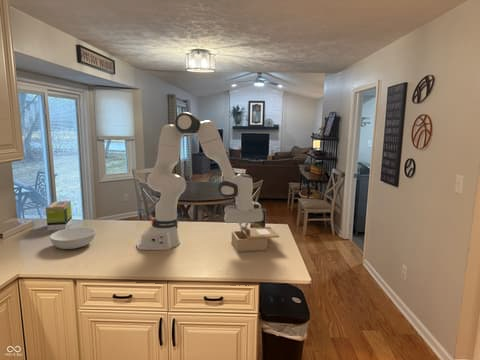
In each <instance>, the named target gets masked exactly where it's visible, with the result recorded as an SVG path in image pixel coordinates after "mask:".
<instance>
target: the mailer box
mask: <svg viewBox="0 0 480 360" xmlns="http://www.w3.org/2000/svg"><path fill="white" fill-rule="evenodd" d="M268 239H269V238H259V239H247V237H246V236H245V235H244V233H243V232H242V231H241V230H231V245H232V246H233V248H234V250H235V252H236V253H237V254H242V253H243V254H244V253H257V252H268Z"/></svg>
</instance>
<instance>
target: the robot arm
mask: <svg viewBox="0 0 480 360" xmlns="http://www.w3.org/2000/svg"><path fill="white" fill-rule="evenodd" d="M194 135H195V136H196V137H197V138H198V141H199V144H200V147H201V149H202V151H203V153H204V155H205V156H206V157H207V158H209V159H211V160H212V161H215V163H216V164H218V166H219V168H220V172H221V173H222V175H223V178H224V180H222V181H221V182H219V184H218V185H217V192H218V194H219V195H220V196H221V197H222V198H224V199H229V198H230V199H231V198H235V204H229V205H226V206H225V207H224V210H223V211H224V219H223V221H224V222H225V223H226V224H235V223H236V224H237V223H238V225H239V227H240V228H239V229H240V230H239V231H241V230H246V227H248V225H250V222H259V221H262V219H263V215H262V210H261V209H260V208H262V205H261V203H259V202H257V201H254V200H253V191H254V183H253V178H252V176H251V175H249V174H247V173H238V174H236V172H235V170H234V167H233V166H232V163H231V161H230V159H229V156H228V154H227V152H226V149H225V146H224V143H223V139H222V137H221V135H220V132H219V129H218V128H217V126H216V124H214V122H213V121H212V120H204V121H200V119H198V117H196V115H194V114H192V113H190V112H187V111H186V112H185V111H184V112H180V113H179V114H178V115H177V116H176V117H175V121H174V124H166V125H164V126H162V128H161V131H160V136H159V140H158V149H157V155H156V156H157V157H156V162H155V164H154V167H153V169H152V171H151V172H150V173H149V174H148V175H147V177H146V183H147V186H148V187H149V188H150V189H151V190H153V191H154V192H159V193H160V197H159V200H158V201H157V202H156V203H155V207H154V208H155V209H154V210H155V217H151V219H150V221H151V225H150V226H149V227H148V228H146V229H144V231H143V232H142V234H141V237H140V239H139V240H138V241H137V242H136V248H137V250H140V251H142V250H144V251H145V250H146V251H150V250H151V251H168V250H170V249H172V248H175V247H178V246H179V245H180V243H181V241H180V238H179V234H178V227H179V226H178V225H179V221H178V213H177V212H178V201H179V199H180V197H181V195H182V194H183V193H184V192H185V190H186V188H187V183H186V180H185V179H184V177H182V176H181V175H178V174H176V173H173V170H174V167H175V166H176V165H177V164H178V163H179V162H180V154H181V143H182V138H184V137H189V136H194ZM243 223H245V224H244V225H242V224H243Z"/></svg>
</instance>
